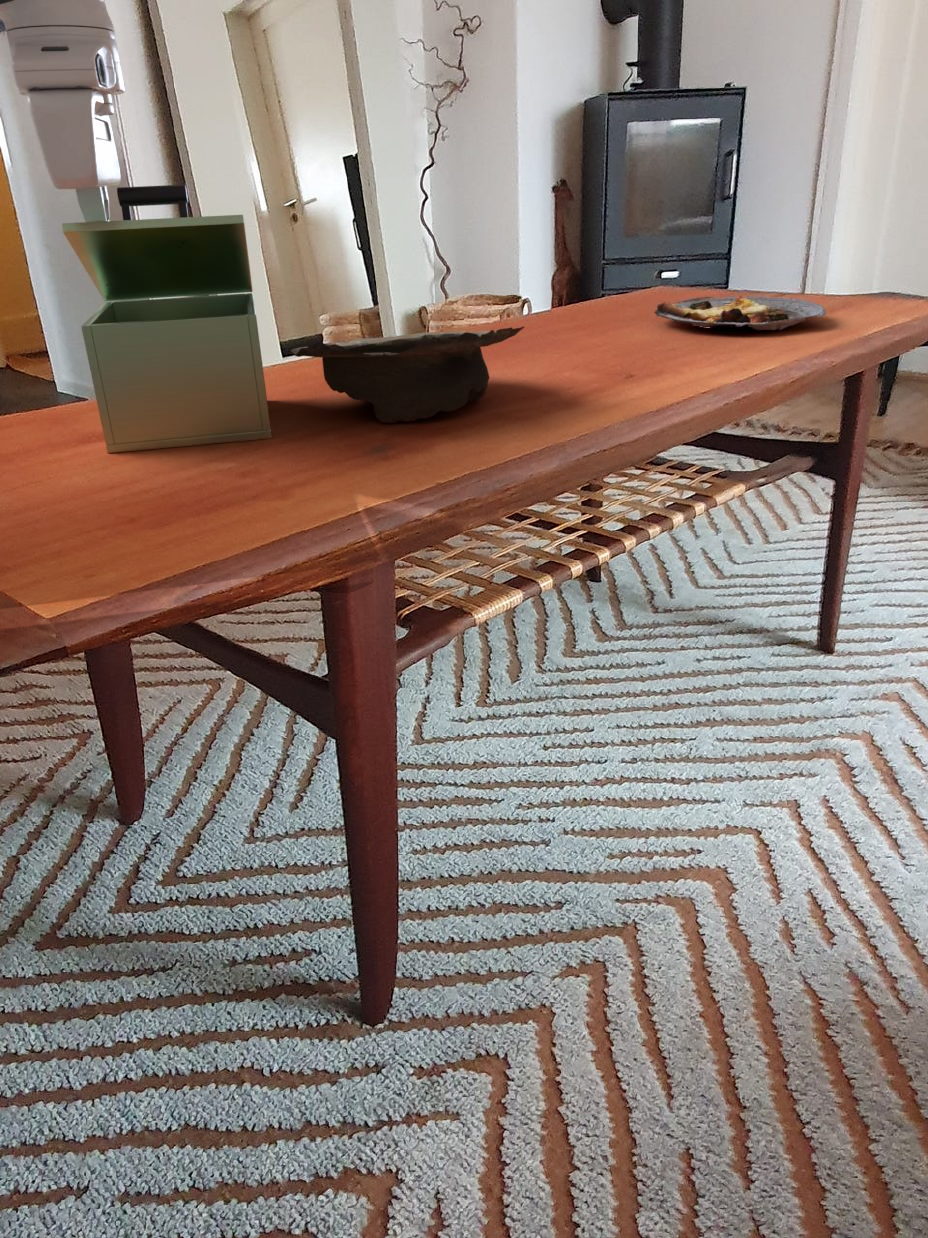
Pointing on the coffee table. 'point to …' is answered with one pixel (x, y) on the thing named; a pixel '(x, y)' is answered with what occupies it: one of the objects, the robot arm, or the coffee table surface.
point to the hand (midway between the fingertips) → (101, 241)
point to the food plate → (741, 312)
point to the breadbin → (177, 372)
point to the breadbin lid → (162, 250)
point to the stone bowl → (409, 370)
